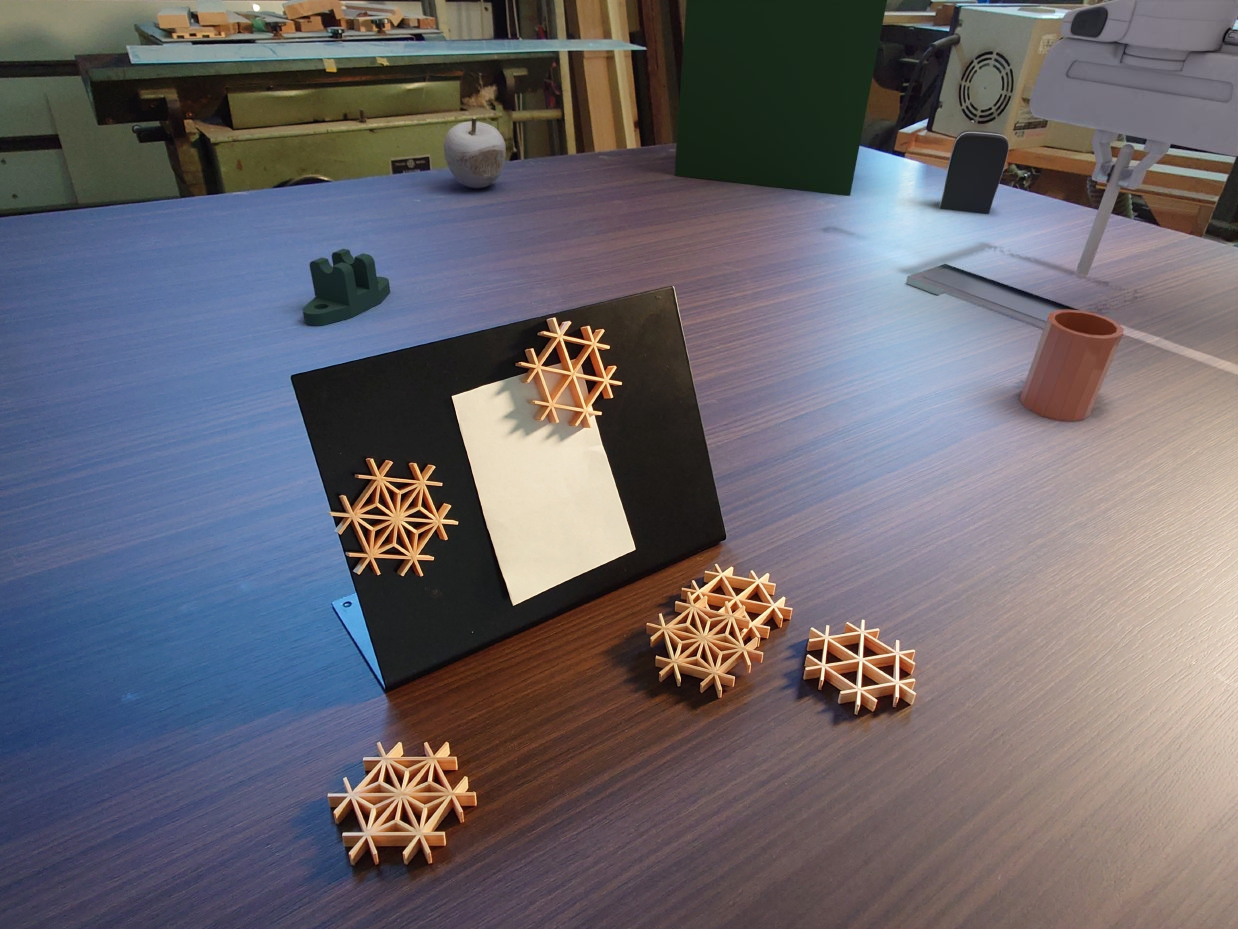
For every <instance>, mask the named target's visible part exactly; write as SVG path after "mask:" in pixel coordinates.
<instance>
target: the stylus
mask: <svg viewBox="0 0 1238 929" xmlns="http://www.w3.org/2000/svg"><path fill="white" fill-rule="evenodd" d="M1135 150H1136V149H1135V146H1134V144H1131V143H1127V144H1124V145H1122V147H1120V149H1119V151H1118V154H1117V158H1116V161H1115V162H1116V163H1115V165H1114V168H1113V171H1112V174H1111V176H1110V179H1109V182H1108V183H1106V184H1107V185H1106V187H1105V190H1104V192H1103V196H1102V199H1101V201H1100V204H1099V207H1098V209H1097V212H1096V214H1095V217H1094V220H1093V222H1092V226H1091V229H1090V231H1089V234H1088V237H1087V239H1086V242H1085V245H1084V246H1083V250H1082V252H1081V256H1080V258H1079V261H1078V263H1077V266H1076V269H1075V276H1076V277H1077V278H1080V279H1083V278H1086V277H1087V276H1088V275H1089V272H1090V270H1091V268H1092V265H1093V262H1094V260H1095V257H1096V254H1097V252H1098V249H1099V247H1100V244H1101V241H1102V239H1103V236H1104V234H1105V230H1106V228H1107V225H1108V224H1109V223H1108V222H1109V220H1110V218H1111V215H1112V212H1113V210H1114V207H1115V204H1116V201H1117V199H1118V196H1119V193H1120V190H1121V188H1122V187H1120V186H1118V181H1119V179H1121V178H1122V177H1121V173H1122V171H1123V168H1125V167H1129V166H1130V164H1131V161H1132V159H1133V156H1134V154H1135Z"/></svg>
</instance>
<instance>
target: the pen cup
mask: <svg viewBox="0 0 1238 929" xmlns="http://www.w3.org/2000/svg"><path fill="white" fill-rule="evenodd" d="M1124 331H1125V330H1124V327H1122V325H1121V324H1120V323H1118V322H1117V321H1115V320H1113V319H1111V318H1109V317H1108V316H1104V315H1101V314H1099V313H1095V312H1091V311H1085V310H1081V309H1078V310H1069V309H1068V310H1067V309H1066V310H1056V311H1054V312H1051V313H1050V314H1049V316H1048V319H1047V321H1046V324H1045V327H1044V330H1043V329H1042V333H1041V336H1040V339H1039V340H1038V341H1039V342H1038V344H1037V347H1036V350H1035V352H1034V356H1033V359H1032V360H1031V364H1030V367H1029V370H1028V373H1027V375H1026V378H1025V380H1024V384H1023V387H1022V389H1021V392H1020V395H1019V401H1020V403H1021V404H1022V405H1023V406H1024V408H1025V409H1027V410H1029V411H1030V412H1032V413H1033V414H1035V415H1039V416H1041V417H1042V418H1043V417H1044V418H1046V419H1050V420H1054V421H1058V422H1067V423H1068V422H1069V423H1071V422H1080V421H1083V420H1086V419H1088V417H1089V416H1091V412H1092V410H1093V408H1094V406H1095V403H1096V400H1097V399H1098V395H1099V393H1100V391H1101V389H1102V386H1103V383H1104V381H1105V379H1106V377H1107V374H1108V371H1109V369H1110V367H1111V364H1112V362H1113V360H1114V358H1115V355H1116V352H1117V350H1118V348H1119V345H1120V344H1121V340H1122V339H1123V335H1124Z"/></svg>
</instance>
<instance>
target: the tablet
mask: <svg viewBox="0 0 1238 929" xmlns="http://www.w3.org/2000/svg"><path fill="white" fill-rule="evenodd" d="M905 284H907V285H909V286H911V287H913V288H917V289H920V290H923V291H924V292H928V293H930V294H933V295H936V296H940V295H943V294H946V295H949V296H951V297H954V298H956V299H959V300H962V301H964V302H967V303H970V304H973V305H976V306H978V307H980V308H983V309H986V310H989V311H992V312H994V313H997V314H999V315H1002V316H1005V317H1008V318H1011V319H1014V320H1016V321H1018V322H1022V323H1024V324H1026V325H1029V326H1031V327H1035V328H1037V329H1040V330H1042V331H1043V330H1044V327H1045V324H1046V321H1047V319H1048V316H1049V314H1050V313H1051V312H1054V311H1056V310H1066V309H1067V310H1068V309H1069V310H1079V309H1078V308H1076V307H1073V306H1070V305H1066V304H1063V303H1060V302H1058V301H1055V300H1052V299H1049V298H1046V297H1043V296H1041V295H1038V294H1035V293H1033V292H1032V293H1031V292H1029V291H1026V290H1023V289H1020V288H1017V287H1014V286H1011V285H1009V284H1007V283H1006V284H1005V283H1002V282H999V281H997V280H993V279H990V278H989V277H985V276H982V275H979V274H976V273H973V272H970V271H968V270H965V269H962V268H959V267H956V266H953V265H950V264H947V263H943V264H940V265H937V266H934V267H931V268H928V269H925V270H921V271H918V272H916V273H913V274H910V275H907V277H906V280H905Z"/></svg>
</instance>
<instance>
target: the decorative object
mask: <svg viewBox="0 0 1238 929" xmlns="http://www.w3.org/2000/svg"><path fill="white" fill-rule="evenodd" d="M500 132H501V131H499V130H498V129H497V128H496V127H494V126H493V125H492V124H491V125H490V124H489V123H486V122H482V121H477V116H472V117H471V121H463V122H460V123H457V124H456V125H454V126H452V127H451V128H450V129H449V130H448V131H447V132H446V135H445V137H444V140H443V153H444V158H445V163H446V166H447V167H448V170H449V171H450V173H451V174H452V176H453V177H454V179H455V180H456V181H457V182H458V183H460V184H462V185H463V186H465V187H467V188H470V189H483V188H487V187H489V186H491V185H492V184H494V183H495V182H496V181H497V180H498V178H499V177H500V176H501V174H502V173H503V172H502V171H503V170H504V167H505V163H506V156H507V150H506V148H507V147H506V141H505V139H504V136H503V134H501V133H500Z"/></svg>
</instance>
